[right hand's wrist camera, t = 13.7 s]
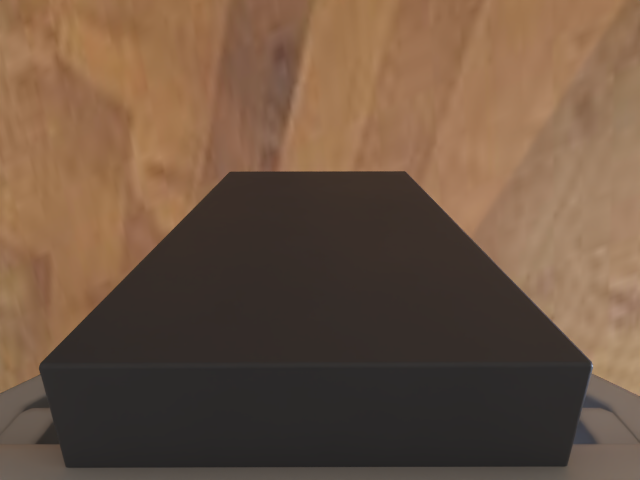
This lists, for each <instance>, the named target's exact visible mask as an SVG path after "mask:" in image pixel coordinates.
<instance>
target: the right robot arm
mask: <svg viewBox="0 0 640 480" xmlns="http://www.w3.org/2000/svg"><path fill="white" fill-rule="evenodd" d="M0 480H640V396H638V395H636V394H634V393H632V392H629V391H627V390H625V389H623V388H621V387H619V386H617V385H615V384H613V383H611V382H609V381H606V380H604V379H602V378H600V377H598V376H596V375H594V374H592V373H591V377H590V380H589V384H588V388H587V392H586V396H585V400H584V403H583V407H582V411H581V415H580V419H579V423H578V427H577V430H576V434H575V438H574V442H573V446H572V450H571V454H570V457H569V461H568V465H567V466H565V467H193V468H67V467H65V463H64V459H63V456H62V452H61V448H60V444H59V441H58V437H57V433H56V430H55V426H54V422H53V418H52V415H51V411H50V407H49V404H48V400H47V396H46V392H45V389H44V385H43V381H42V378H41V374H40V375H38V376H36V377H34V378H32V379H30V380H28V381H26V382H23V383H21V384H19V385H17V386H15V387H13V388H11V389H9V390H7V391H4V392H2V393H0Z"/></svg>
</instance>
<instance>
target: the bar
mask: <svg viewBox="0 0 640 480" xmlns="http://www.w3.org/2000/svg"><path fill="white" fill-rule="evenodd" d="M592 369H593V364H592V362H591V361H590V360H589V359H588V358H587V357H586V356H585V355H584V354H583V353H582V352H581V351H580V350H579V349H578V348H577V346H576V345H575V344H574V343H573V342H572V341H571V340H570V339H569V338H568V337H567V336H566V335H565V334H564V333H563V332H562V331H561V330H560V329H559V328H558V327H557V326H556V325H555V324H554V323H553V322H552V321H551V320H550V319H549V318H548V317H547V316H546V315H545V314H544V313H543V312H542V311H541V310H540V309H539V308H538V307H537V306H536V305H535V304H534V302H533V301H532V300H531V299H530V298H529V297H528V296H527V295H526V294H525V293H524V292H523V291H522V290H521V289H520V288H519V287H518V286H517V285H516V284H515V283H514V282H513V281H512V280H511V279H510V278H509V277H508V276H507V275H506V274H505V273H504V272H503V271H502V270H501V269H500V268H499V267H498V266H497V265H496V264H495V263H494V262H493V261H492V260H491V259H490V257H489V256H488V255H487V254H486V253H485V252H484V251H483V250H482V249H481V248H480V247H479V246H478V245H477V244H476V243H475V242H474V241H473V240H472V239H471V238H470V237H469V236H468V235H467V234H466V233H465V232H464V231H463V230H462V229H461V228H460V227H459V226H458V225H457V224H456V223H455V222H454V221H453V220H452V219H451V218H450V217H449V216H448V215H447V214H446V212H445V211H444V210H443V209H442V208H441V207H440V206H439V205H438V204H437V203H436V202H435V201H434V200H433V199H432V198H431V197H430V196H429V195H428V194H427V193H426V192H425V191H424V190H423V189H422V188H421V187H420V186H419V185H418V184H417V183H416V182H415V181H414V180H413V179H412V178H411V177H410V176H409V175H408V174H407V173H406V172H405V171H395V172H229V173H228V174H227V175H226V176H225V177H224V178H223V179H222V180H221V181H220V182H219V183H218V184H217V185H216V186H215V187H214V188H213V189H212V190H211V192H210V193H209V194H208V195H207V196H206V197H205V198H204V199H203V200H202V201H201V202H200V203H199V204H198V205H197V206H196V207H195V208H194V209H193V210H192V211H191V212H190V213H189V214H188V215H187V216H186V217H185V218H184V219H183V220H182V221H181V222H180V223H179V224H178V225H177V226H176V227H175V228H174V229H173V230H172V231H171V232H170V233H169V234H168V235H167V236H166V237H165V238H164V239H163V240H162V241H161V242H160V243H159V244H158V245H157V246H156V247H155V248H154V249H153V250H152V251H151V252H150V253H149V254H148V255H147V256H146V257H145V258H144V259H143V260H142V261H141V262H140V263H139V264H138V265H137V266H136V267H135V268H134V269H133V270H132V271H131V272H130V273H129V274H128V275H127V276H126V277H125V279H124V280H123V281H122V282H121V283H120V284H119V285H118V286H117V287H116V288H115V289H114V290H113V291H112V292H111V293H110V294H109V295H108V296H107V297H106V298H105V299H104V300H103V301H102V302H101V303H100V304H99V305H98V306H97V307H96V308H95V309H94V310H93V311H92V312H91V313H90V314H89V315H88V316H87V317H86V318H85V319H84V320H83V321H82V322H81V323H80V324H79V325H78V326H77V327H76V328H75V329H74V330H73V331H72V332H71V333H70V334H69V335H68V336H67V337H66V338H65V339H64V340H63V341H62V342H61V343H60V344H59V345H58V346H57V347H56V348H55V349H54V350H53V351H52V352H51V353H50V354H49V355H48V356H47V357H46V358H45V359H44V360H43V361H42V362H41V364H40V366H39V370H40V374H41V378H42V381H43V385H44V389H45V392H46V396H47V400H48V404H49V407H50V411H51V415H52V418H53V422H54V426H55V430H56V433H57V437H58V441H59V444H60V448H61V452H62V456H63V459H64V463H65V467H67V468H193V467H565V466H567V465H568V461H569V457H570V454H571V450H572V446H573V442H574V438H575V434H576V430H577V427H578V423H579V419H580V415H581V411H582V407H583V403H584V400H585V396H586V392H587V388H588V384H589V380H590V377H591V373H592Z"/></svg>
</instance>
